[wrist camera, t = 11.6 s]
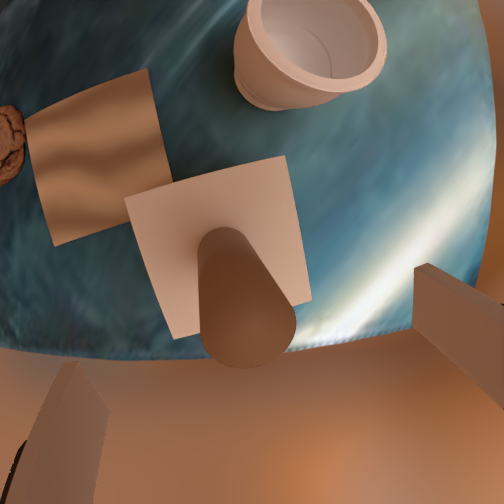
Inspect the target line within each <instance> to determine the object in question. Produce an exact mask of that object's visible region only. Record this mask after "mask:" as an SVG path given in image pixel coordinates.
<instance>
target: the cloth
mask: <svg viewBox="0 0 504 504" xmlns="http://www.w3.org/2000/svg"><path fill="white" fill-rule="evenodd" d="M24 121H25V128H26V135H27V141H28V147H29V152H30V158H31V163H32V167H33V172H34V177H35V181H36V185H37V189H38V193H39V197H40V201H41V204H42V208H43V212H44V215H45V218H46V222H47V225H48V228H49V231H50V235H51V238H52V241H53V244H54V247H55V246H58V245H60V244H63V243H66V242H69V241H72V240H75V239H77V238H80V237H83V236H86V235H89V234H92V233H95V232H98V231H101V230H104V229H107V228H110V227H114V226H117V225H120V224H123V223H126V222H129V221H131V220H130V217H129V214H128V210H127V207H126V204H125V200H124V198H125V197H128V196H131V195H134V194H137V193H140V192H144V191H147V190H150V189H153V188H157V187H160V186H163V185H167V184H170V183H173V179H172V175H171V171H170V167H169V163H168V159H167V155H166V151H165V147H164V142H163V138H162V134H161V129H160V125H159V121H158V116H157V112H156V107H155V102H154V98H153V93H152V88H151V83H150V78H149V73H148V69H147V68H146V69H143V70H140V71H137V72H133V73H130V74H127V75H124V76H121V77H118V78H116V79H113V80H110V81H107V82H105V83H102V84H99V85H97V86H94V87H92V88H89V89H87V90H85V91H82V92H80V93H77V94H75V95H73V96H71V97H68V98H66V99H64V100H62V101H60V102H58V103H56V104H53V105H51V106H49V107H47V108H45V109H43V110H41V111H40V112H38V113H36V114H34V115H32V116H30V117H28V118H26V119H25V120H24Z"/></svg>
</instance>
